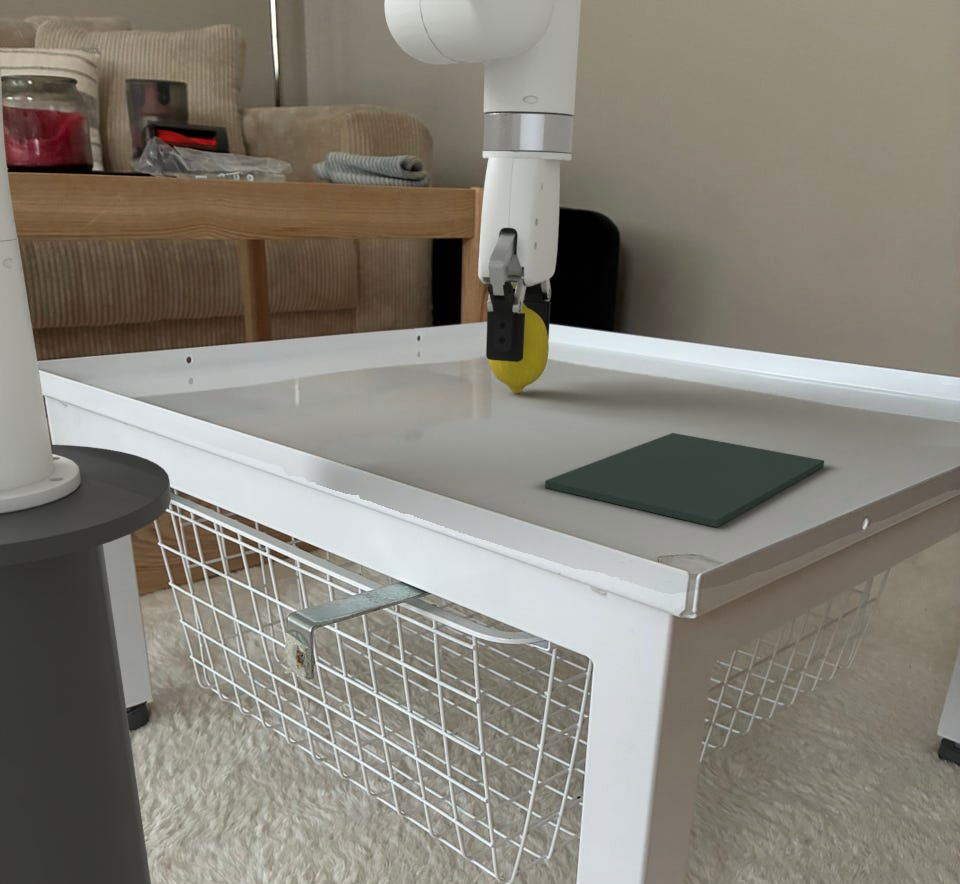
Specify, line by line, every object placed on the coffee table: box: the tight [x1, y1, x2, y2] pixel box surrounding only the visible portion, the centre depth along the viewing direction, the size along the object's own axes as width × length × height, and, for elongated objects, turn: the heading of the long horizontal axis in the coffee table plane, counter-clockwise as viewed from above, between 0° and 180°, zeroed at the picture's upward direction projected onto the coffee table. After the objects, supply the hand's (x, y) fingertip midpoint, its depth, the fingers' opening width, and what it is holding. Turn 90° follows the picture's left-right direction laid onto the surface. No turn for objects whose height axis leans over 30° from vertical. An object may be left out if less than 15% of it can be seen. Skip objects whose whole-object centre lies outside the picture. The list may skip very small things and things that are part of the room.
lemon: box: [488, 303, 550, 394], centre depth 89 cm, size 6×6×8 cm
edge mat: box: [544, 432, 825, 528], centre depth 67 cm, size 18×12×1 cm, turn 143°
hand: (518, 351), depth 89 cm, fingers open, 9 cm apart
